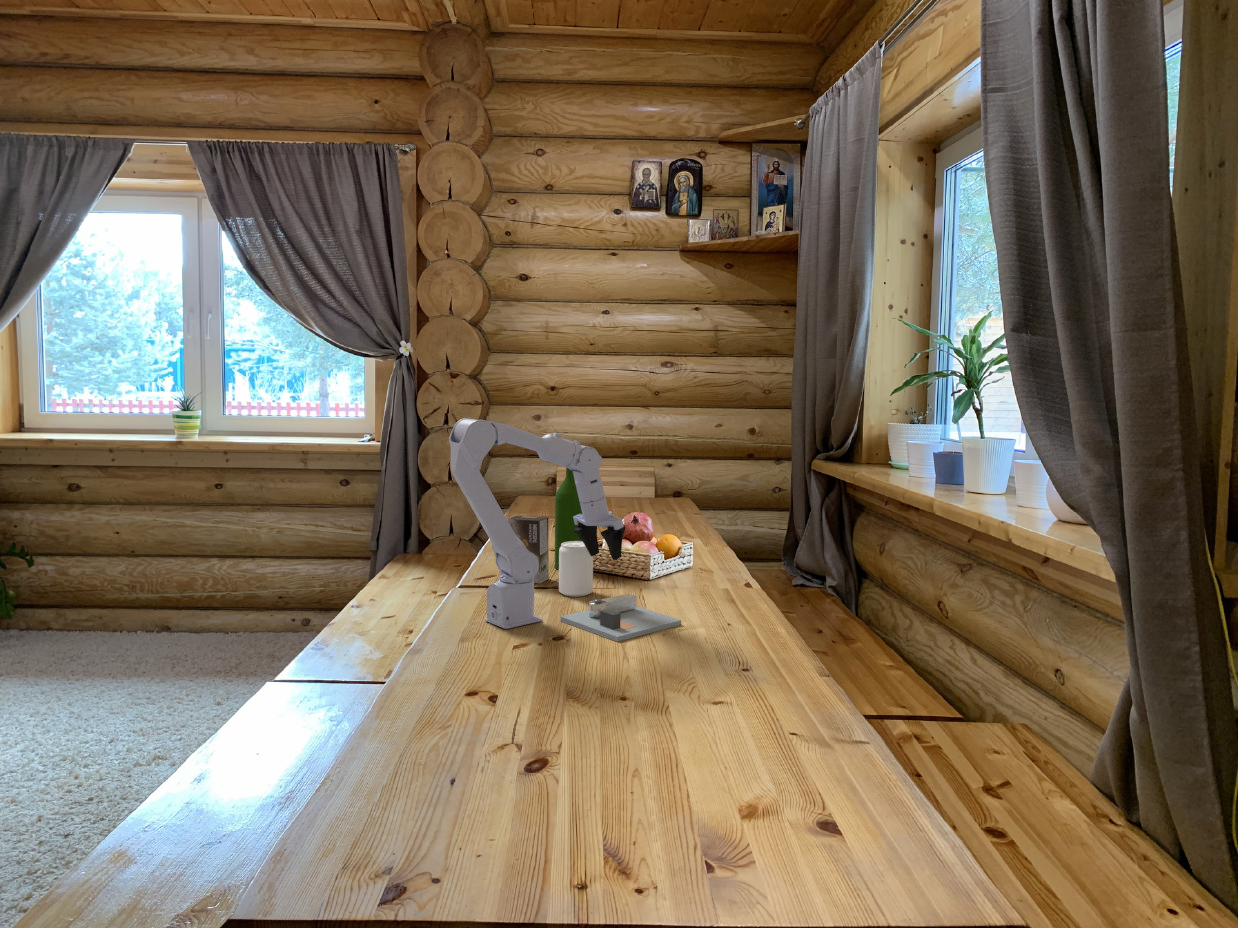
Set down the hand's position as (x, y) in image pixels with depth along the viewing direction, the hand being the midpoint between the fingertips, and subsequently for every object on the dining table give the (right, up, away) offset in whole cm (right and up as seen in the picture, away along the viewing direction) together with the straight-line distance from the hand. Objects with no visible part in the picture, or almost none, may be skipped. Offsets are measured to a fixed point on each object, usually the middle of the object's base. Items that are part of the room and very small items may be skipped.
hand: (605, 556), depth 180 cm
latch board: (+3, -13, -10) cm, 16 cm away
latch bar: (+1, -11, -6) cm, 13 cm away
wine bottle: (-10, -8, +41) cm, 43 cm away
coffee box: (-20, -9, +27) cm, 35 cm away
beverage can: (-7, -11, +14) cm, 19 cm away
